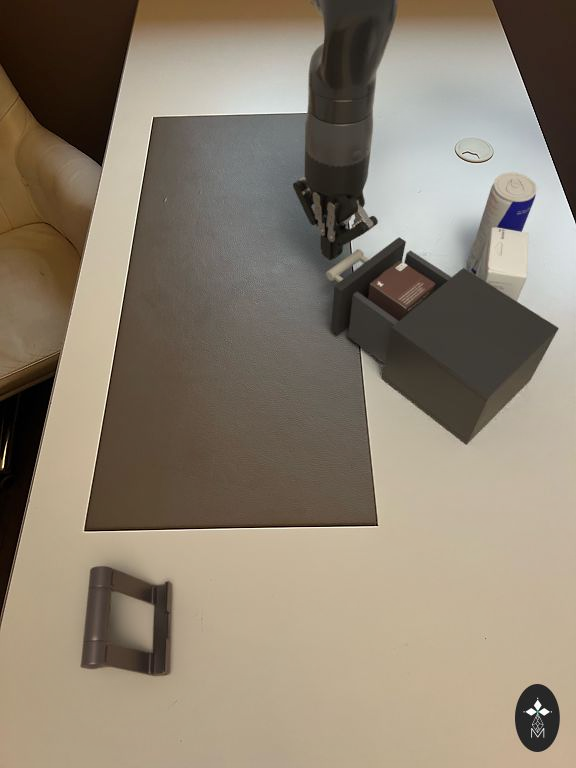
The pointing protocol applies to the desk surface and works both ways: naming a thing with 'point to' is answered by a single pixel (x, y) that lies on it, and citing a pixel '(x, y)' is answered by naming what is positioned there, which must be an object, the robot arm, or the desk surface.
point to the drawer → (352, 294)
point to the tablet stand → (98, 615)
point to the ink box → (505, 261)
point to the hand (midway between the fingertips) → (330, 254)
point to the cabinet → (465, 353)
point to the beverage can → (503, 211)
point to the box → (400, 290)
